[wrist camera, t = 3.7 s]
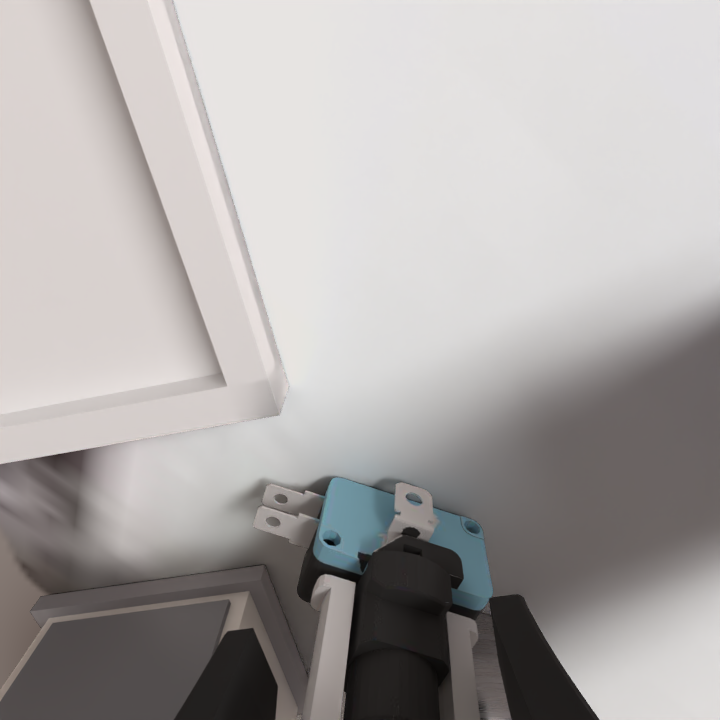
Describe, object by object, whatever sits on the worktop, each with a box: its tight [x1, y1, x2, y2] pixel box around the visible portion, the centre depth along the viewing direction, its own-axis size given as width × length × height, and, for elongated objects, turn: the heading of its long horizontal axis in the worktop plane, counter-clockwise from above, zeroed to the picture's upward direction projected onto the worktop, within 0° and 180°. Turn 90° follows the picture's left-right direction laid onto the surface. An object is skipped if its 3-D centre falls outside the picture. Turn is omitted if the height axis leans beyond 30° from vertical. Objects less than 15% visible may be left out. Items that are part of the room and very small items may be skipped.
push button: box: [253, 477, 493, 720], centre depth 10 cm, size 7×5×10 cm
